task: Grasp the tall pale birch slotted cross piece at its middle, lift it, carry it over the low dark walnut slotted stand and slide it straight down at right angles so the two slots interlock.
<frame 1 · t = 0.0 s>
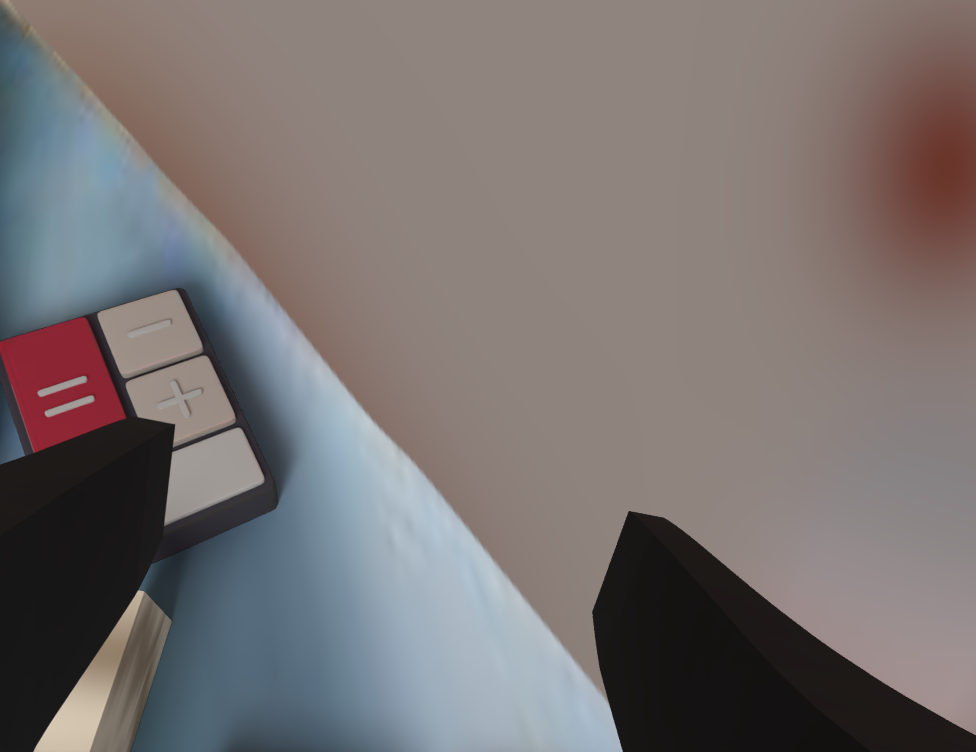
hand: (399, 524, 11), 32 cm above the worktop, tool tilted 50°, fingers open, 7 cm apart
calculator: (143, 439, 44), on the worktop
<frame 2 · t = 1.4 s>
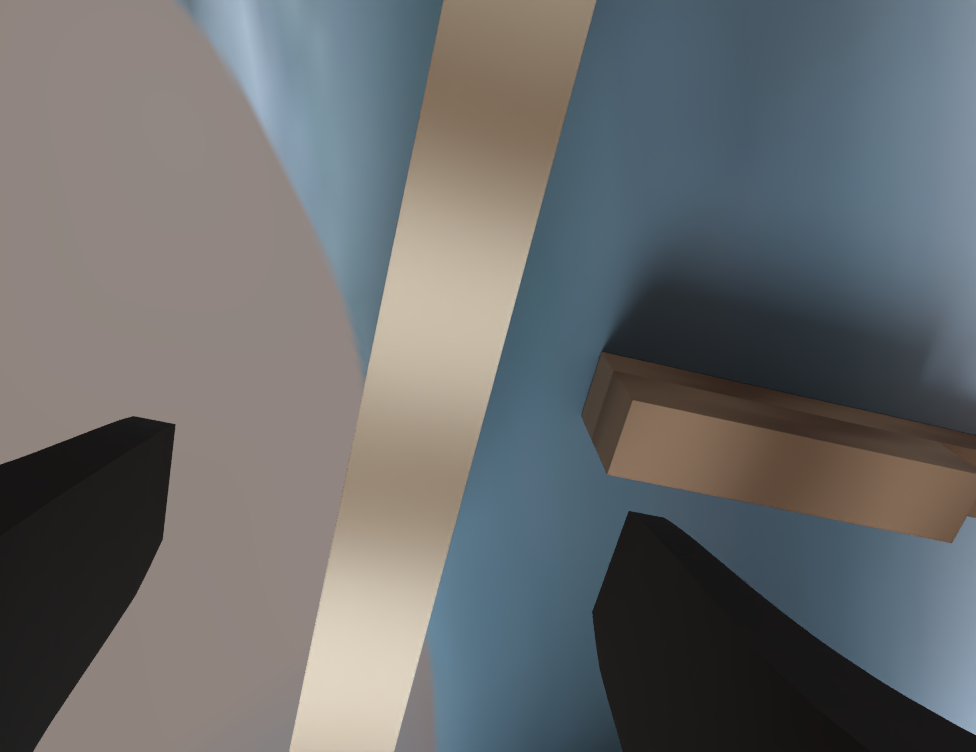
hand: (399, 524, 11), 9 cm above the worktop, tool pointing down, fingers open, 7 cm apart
cross piece: (417, 346, 20), on the worktop
walnut stand: (934, 458, 22), on the worktop
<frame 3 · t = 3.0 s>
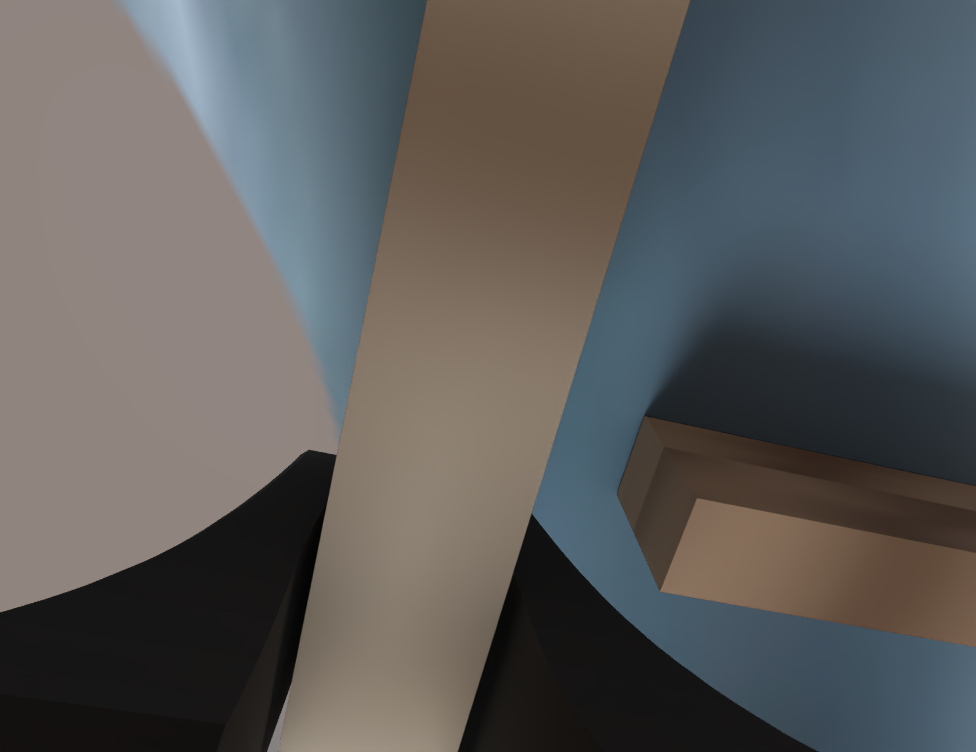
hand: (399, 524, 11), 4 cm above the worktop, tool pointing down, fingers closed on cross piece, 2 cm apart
cross piece: (410, 411, 15), on the worktop, touching gripper
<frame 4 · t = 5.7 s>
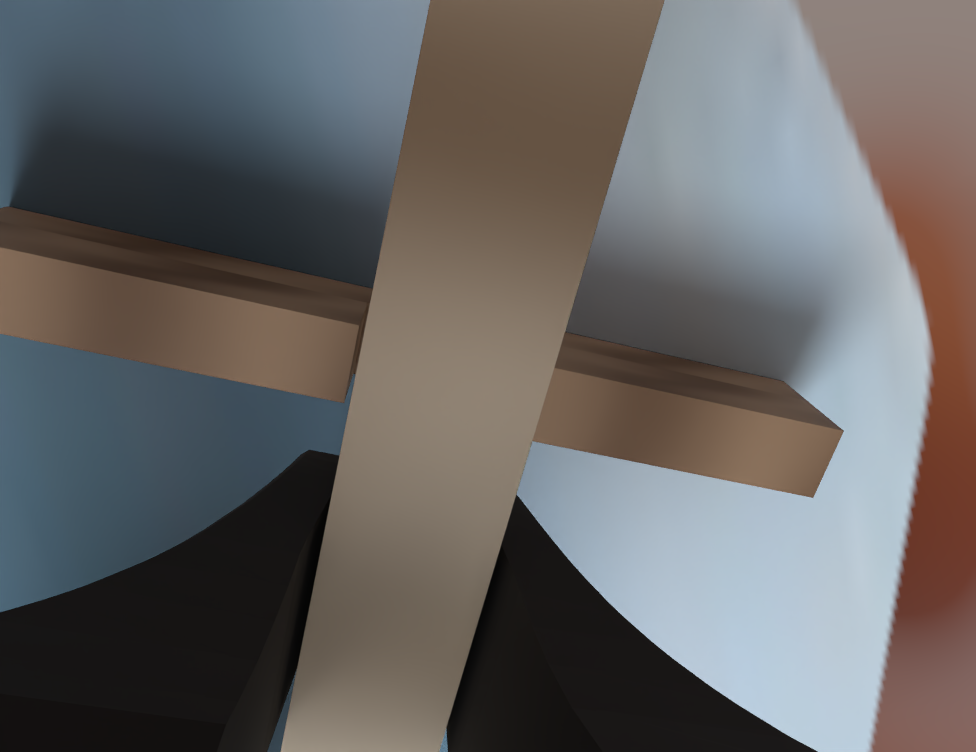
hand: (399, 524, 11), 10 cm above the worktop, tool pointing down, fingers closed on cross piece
cross piece: (410, 401, 16), point 5 cm above the worktop, touching gripper
walnut stand: (418, 333, 21), on the worktop
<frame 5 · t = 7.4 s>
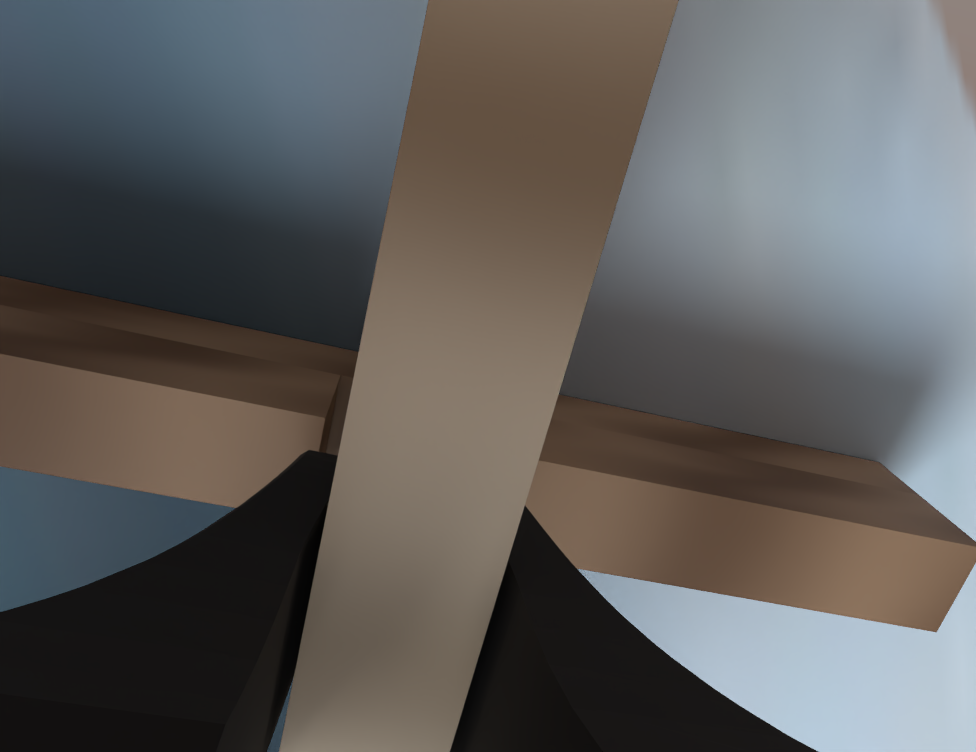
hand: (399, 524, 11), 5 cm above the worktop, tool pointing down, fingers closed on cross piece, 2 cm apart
cross piece: (409, 410, 16), on the worktop, touching gripper
walnut stand: (410, 406, 16), on the worktop
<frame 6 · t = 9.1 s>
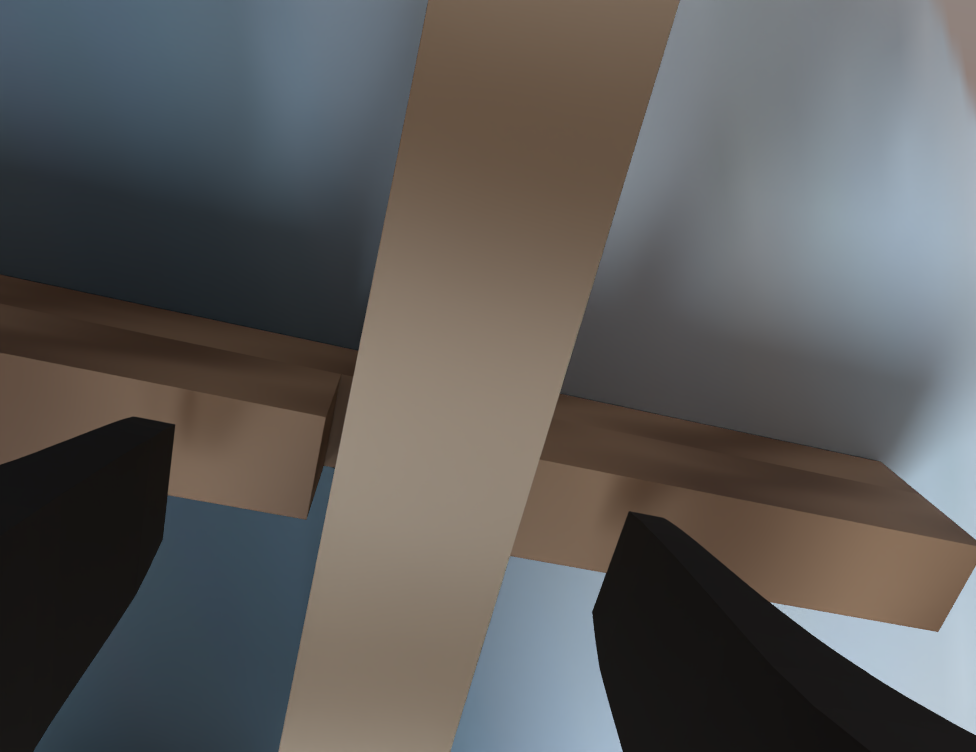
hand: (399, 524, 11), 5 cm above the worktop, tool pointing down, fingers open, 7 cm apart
cross piece: (410, 410, 16), on the worktop
walnut stand: (410, 406, 16), on the worktop
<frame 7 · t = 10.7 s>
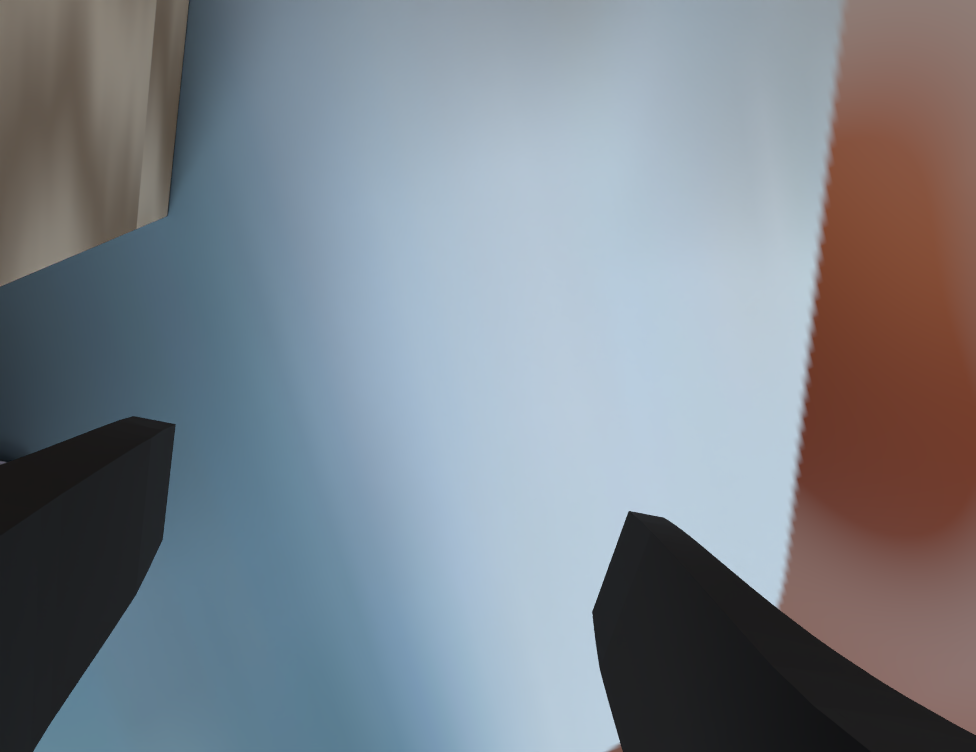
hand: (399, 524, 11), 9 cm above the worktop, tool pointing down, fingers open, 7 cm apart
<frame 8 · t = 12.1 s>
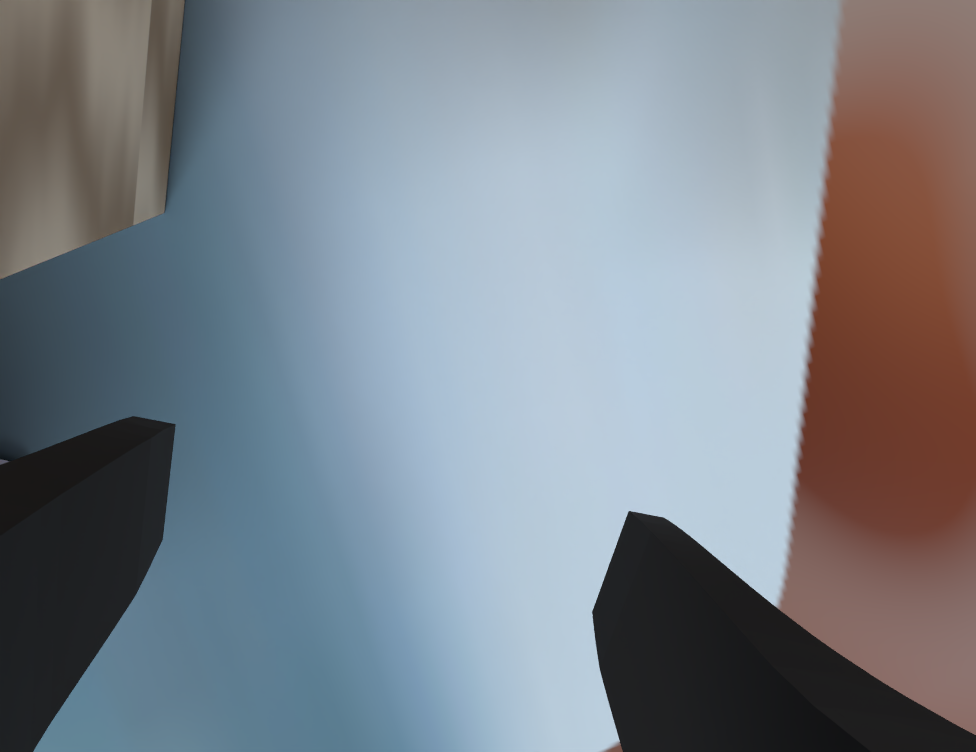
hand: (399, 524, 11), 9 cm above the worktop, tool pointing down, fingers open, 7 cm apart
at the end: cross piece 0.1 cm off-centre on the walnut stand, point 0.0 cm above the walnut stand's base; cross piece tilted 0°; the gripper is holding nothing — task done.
